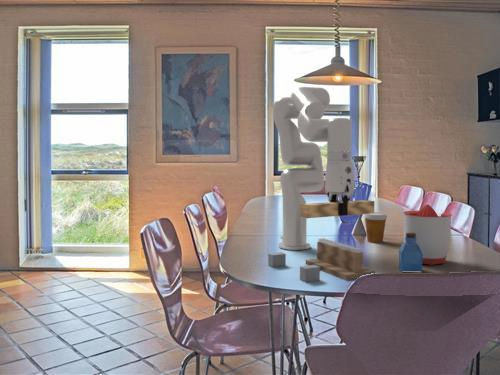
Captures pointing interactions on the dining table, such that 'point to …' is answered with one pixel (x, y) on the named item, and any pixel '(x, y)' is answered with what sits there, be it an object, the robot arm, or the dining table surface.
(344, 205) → the robot arm
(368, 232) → the disposable coffee cup
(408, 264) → the perfume bottle
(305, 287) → the dining table surface
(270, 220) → the dining table surface
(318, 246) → the stand
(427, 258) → the citrus juicer
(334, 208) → the oak batten
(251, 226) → the dining table surface
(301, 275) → the pair of grey cubes
